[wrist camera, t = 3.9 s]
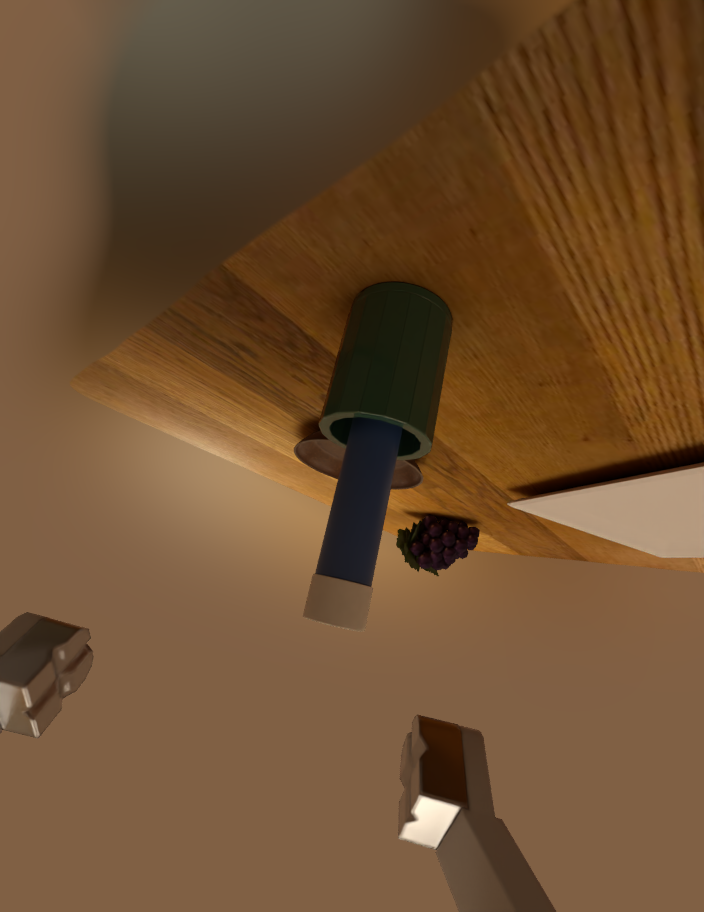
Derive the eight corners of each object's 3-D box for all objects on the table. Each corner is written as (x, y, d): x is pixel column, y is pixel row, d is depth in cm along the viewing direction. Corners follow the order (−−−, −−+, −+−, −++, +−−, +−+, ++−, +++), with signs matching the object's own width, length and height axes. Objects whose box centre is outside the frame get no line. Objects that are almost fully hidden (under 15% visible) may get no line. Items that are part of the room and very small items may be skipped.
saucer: (307, 455, 55) (302, 474, 54) (290, 405, 41) (282, 430, 40) (417, 478, 54) (413, 497, 53) (438, 434, 40) (433, 461, 39)
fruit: (482, 509, 72) (409, 525, 81) (456, 500, 64) (378, 519, 73) (494, 569, 69) (417, 579, 77) (468, 568, 61) (385, 579, 69)
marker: (373, 307, 24) (296, 616, 18) (425, 314, 23) (362, 633, 18) (375, 339, 26) (309, 615, 21) (422, 345, 26) (366, 629, 21)
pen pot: (346, 276, 23) (309, 404, 20) (460, 288, 22) (437, 424, 19) (355, 343, 28) (328, 449, 26) (445, 355, 27) (426, 467, 25)
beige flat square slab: (784, 424, 26) (788, 454, 26) (992, 530, 33) (1000, 556, 32) (506, 489, 50) (504, 505, 49) (660, 543, 57) (661, 558, 56)
